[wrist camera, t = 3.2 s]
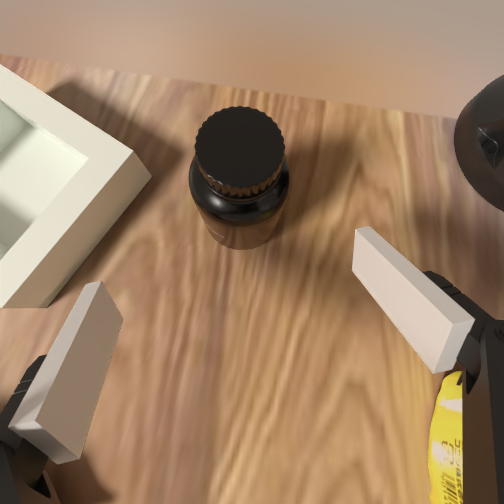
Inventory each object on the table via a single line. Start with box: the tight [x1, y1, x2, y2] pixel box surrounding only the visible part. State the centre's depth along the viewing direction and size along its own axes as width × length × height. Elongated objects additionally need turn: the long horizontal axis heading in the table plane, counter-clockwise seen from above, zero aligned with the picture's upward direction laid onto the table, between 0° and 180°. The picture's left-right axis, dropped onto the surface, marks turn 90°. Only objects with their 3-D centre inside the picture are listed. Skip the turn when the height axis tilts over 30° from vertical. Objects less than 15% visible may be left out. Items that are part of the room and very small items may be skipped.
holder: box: [0, 65, 152, 308], centre depth 24 cm, size 15×15×4 cm
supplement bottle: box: [189, 106, 292, 250], centre depth 20 cm, size 7×7×12 cm
